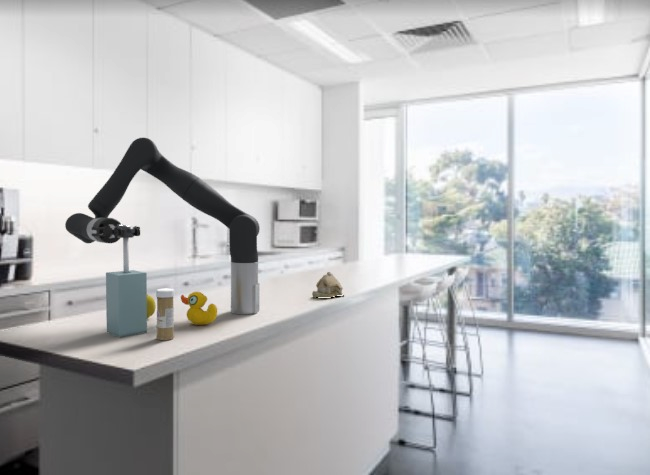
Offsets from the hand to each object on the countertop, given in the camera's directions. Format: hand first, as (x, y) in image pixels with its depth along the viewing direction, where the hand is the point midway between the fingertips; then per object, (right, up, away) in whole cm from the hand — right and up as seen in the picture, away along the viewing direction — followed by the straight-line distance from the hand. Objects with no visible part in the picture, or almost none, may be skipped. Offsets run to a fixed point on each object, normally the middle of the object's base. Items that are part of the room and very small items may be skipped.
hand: (130, 232), depth 137 cm
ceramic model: (+55, -26, +66) cm, 90 cm away
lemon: (-3, -28, +20) cm, 34 cm away
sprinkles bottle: (+11, -29, -3) cm, 31 cm away
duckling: (+16, -28, +14) cm, 35 cm away
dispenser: (-2, -28, +3) cm, 29 cm away
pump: (-1, -13, +2) cm, 13 cm away
